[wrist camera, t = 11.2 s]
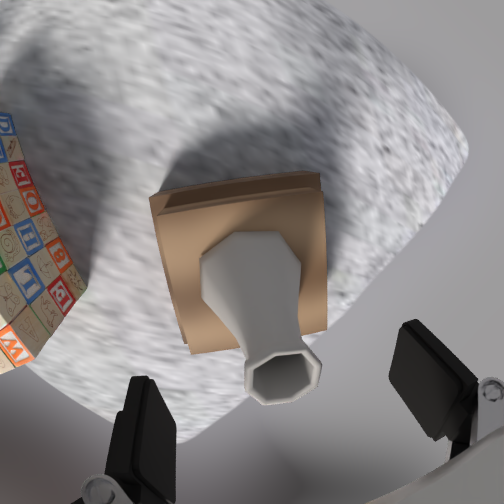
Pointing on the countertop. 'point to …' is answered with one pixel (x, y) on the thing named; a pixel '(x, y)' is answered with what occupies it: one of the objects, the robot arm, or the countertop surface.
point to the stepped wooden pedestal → (240, 220)
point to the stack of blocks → (28, 261)
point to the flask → (261, 312)
